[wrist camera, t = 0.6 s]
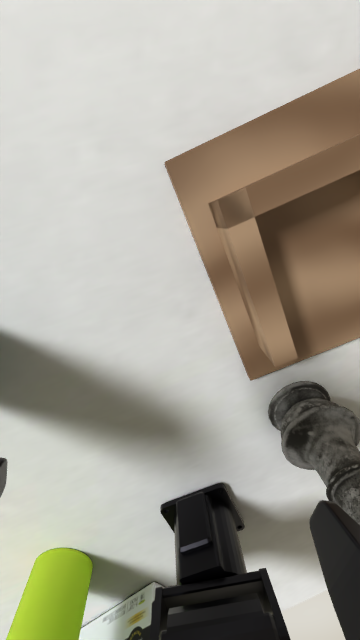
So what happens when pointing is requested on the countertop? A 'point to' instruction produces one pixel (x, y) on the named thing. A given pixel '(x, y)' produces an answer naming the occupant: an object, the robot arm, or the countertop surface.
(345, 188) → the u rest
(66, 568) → the soap dispenser
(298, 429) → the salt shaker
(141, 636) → the tea box
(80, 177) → the countertop surface
